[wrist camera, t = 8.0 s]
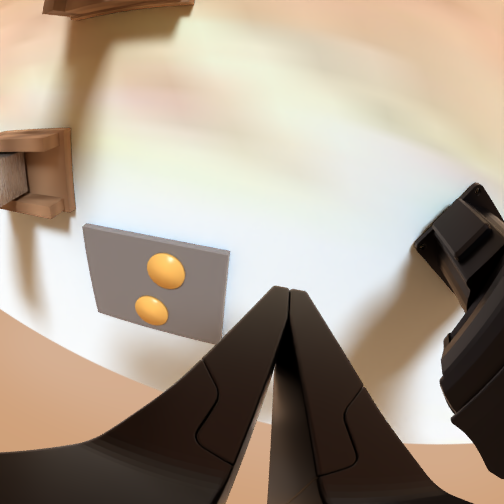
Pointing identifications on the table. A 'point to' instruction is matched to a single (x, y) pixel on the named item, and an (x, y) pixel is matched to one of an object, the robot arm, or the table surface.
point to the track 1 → (43, 170)
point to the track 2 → (102, 6)
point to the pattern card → (158, 281)
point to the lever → (12, 176)
